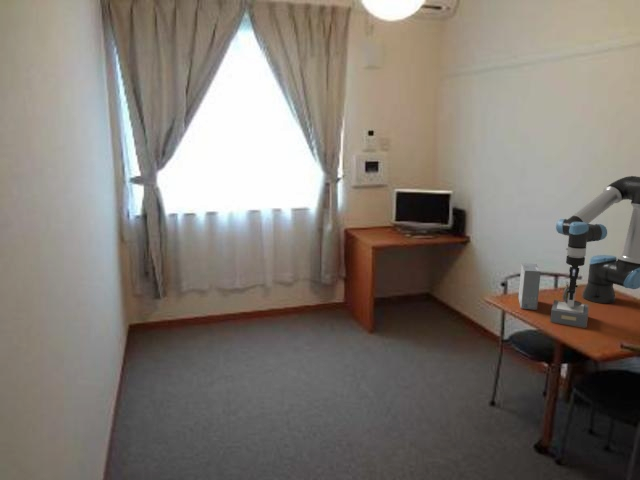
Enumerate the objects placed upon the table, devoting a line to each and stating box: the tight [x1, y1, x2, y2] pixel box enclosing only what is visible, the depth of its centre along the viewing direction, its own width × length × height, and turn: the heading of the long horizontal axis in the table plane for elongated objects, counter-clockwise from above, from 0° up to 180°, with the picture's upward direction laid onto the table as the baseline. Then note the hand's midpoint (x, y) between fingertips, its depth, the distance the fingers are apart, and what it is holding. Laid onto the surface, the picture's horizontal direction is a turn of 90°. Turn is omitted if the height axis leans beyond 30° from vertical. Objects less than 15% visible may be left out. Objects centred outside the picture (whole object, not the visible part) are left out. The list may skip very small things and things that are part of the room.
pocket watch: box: [562, 282, 583, 306], centre depth 234 cm, size 8×8×10 cm
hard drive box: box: [518, 262, 542, 311], centre depth 255 cm, size 16×8×20 cm, turn 164°
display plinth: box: [549, 299, 590, 329], centre depth 236 cm, size 15×15×6 cm
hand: (570, 303), depth 235 cm, fingers closed on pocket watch, 7 cm apart
